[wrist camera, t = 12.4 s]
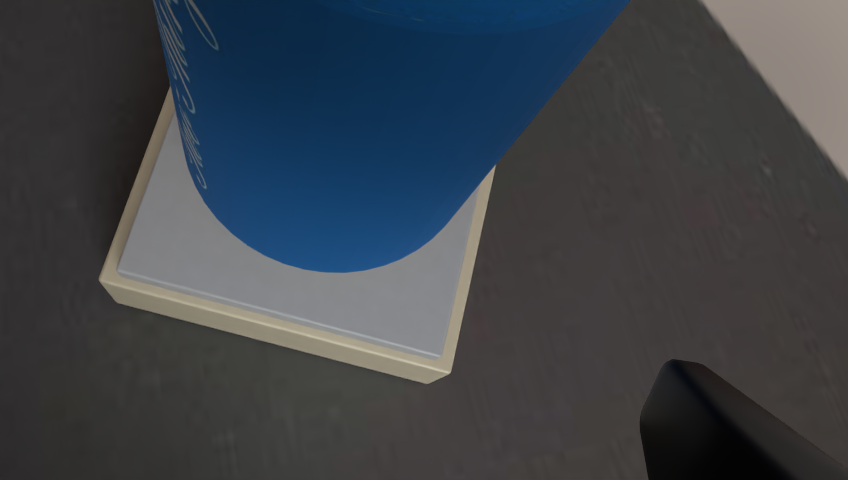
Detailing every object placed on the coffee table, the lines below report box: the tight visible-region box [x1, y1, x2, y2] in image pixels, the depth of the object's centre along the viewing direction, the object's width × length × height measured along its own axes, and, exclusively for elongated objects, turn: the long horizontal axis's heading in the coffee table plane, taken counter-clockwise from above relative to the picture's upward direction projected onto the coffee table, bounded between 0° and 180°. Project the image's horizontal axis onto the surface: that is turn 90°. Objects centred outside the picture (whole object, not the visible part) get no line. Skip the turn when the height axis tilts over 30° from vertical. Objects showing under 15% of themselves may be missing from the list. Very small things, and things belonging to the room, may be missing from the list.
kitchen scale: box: [99, 86, 496, 384], centre depth 20 cm, size 9×8×3 cm
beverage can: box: [153, 0, 630, 273], centre depth 13 cm, size 6×6×12 cm
